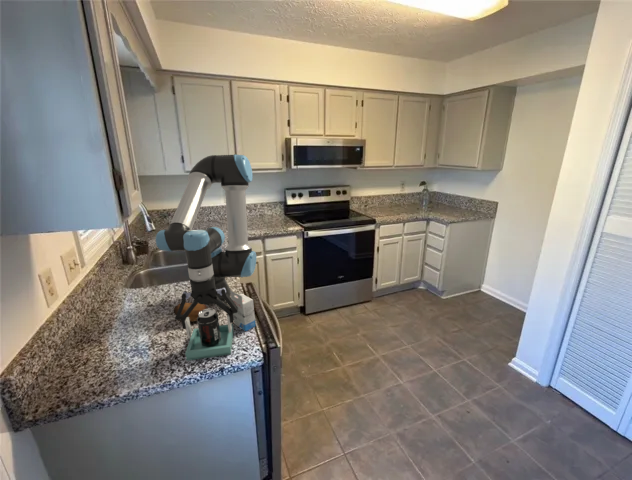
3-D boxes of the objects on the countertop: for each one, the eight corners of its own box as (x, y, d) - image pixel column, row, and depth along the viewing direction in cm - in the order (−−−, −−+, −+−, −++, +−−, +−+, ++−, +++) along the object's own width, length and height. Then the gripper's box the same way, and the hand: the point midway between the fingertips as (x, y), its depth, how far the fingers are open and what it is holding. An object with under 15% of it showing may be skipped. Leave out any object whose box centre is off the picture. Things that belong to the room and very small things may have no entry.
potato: (207, 322, 122) (207, 321, 115) (172, 321, 118) (170, 320, 111) (209, 304, 125) (210, 302, 118) (175, 303, 120) (173, 300, 113)
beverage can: (198, 349, 99) (193, 318, 96) (204, 337, 106) (199, 308, 102) (218, 348, 100) (214, 317, 96) (223, 336, 106) (219, 307, 103)
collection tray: (195, 335, 108) (193, 328, 108) (233, 330, 111) (232, 323, 110) (186, 360, 95) (185, 353, 94) (230, 354, 98) (229, 346, 97)
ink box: (256, 326, 113) (253, 292, 109) (245, 332, 110) (241, 297, 106) (244, 318, 119) (240, 285, 115) (233, 323, 116) (229, 290, 111)
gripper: (157, 286, 90) (169, 344, 96) (240, 277, 94) (246, 334, 100) (164, 276, 97) (175, 331, 103) (241, 269, 101) (247, 322, 107)
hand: (210, 333), depth 102 cm, fingers open, 13 cm apart
